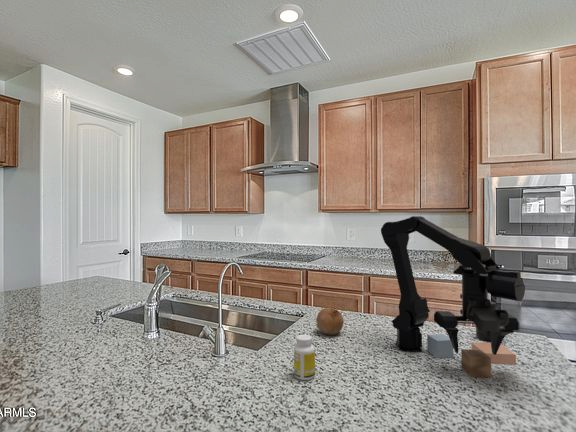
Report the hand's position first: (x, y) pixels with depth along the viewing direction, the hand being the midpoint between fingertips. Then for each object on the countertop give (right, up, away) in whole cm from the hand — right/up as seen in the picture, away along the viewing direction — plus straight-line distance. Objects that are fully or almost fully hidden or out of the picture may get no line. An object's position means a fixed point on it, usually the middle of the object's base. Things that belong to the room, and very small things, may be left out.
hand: (475, 353), depth 82 cm
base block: (+10, -5, +9) cm, 14 cm away
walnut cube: (0, -5, 0) cm, 5 cm away
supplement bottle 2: (+18, -5, +23) cm, 30 cm away
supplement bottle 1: (-44, -5, -1) cm, 45 cm away
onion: (-34, -6, +29) cm, 45 cm away
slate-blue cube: (-4, -5, +11) cm, 13 cm away
